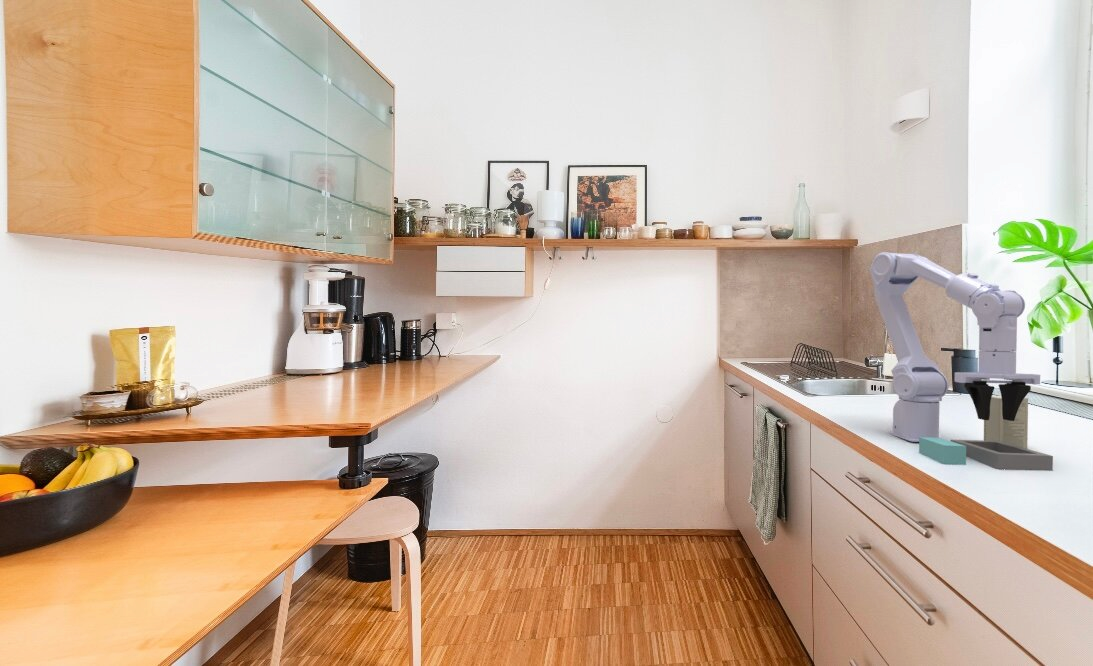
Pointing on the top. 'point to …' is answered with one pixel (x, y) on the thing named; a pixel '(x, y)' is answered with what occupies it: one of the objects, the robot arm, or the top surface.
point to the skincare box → (1007, 424)
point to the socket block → (1006, 455)
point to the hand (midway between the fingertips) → (996, 419)
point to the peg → (943, 450)
